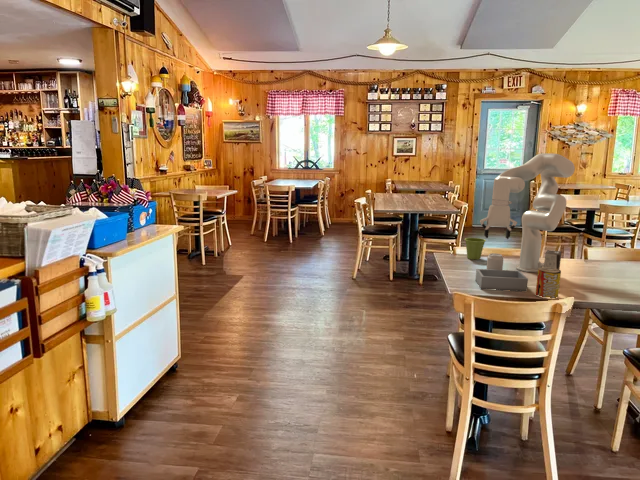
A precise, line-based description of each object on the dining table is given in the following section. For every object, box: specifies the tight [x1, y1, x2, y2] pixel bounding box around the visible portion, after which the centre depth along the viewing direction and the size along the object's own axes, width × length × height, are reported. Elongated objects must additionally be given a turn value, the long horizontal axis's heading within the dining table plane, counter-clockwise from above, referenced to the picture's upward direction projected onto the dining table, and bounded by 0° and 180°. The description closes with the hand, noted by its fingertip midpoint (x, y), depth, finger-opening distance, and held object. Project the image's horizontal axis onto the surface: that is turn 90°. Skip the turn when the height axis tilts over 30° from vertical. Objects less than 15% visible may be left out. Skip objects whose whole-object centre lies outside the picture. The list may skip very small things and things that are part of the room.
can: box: [486, 252, 504, 270], centre depth 232 cm, size 8×8×12 cm
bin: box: [475, 268, 529, 292], centre depth 219 cm, size 20×14×6 cm
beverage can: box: [535, 267, 562, 298], centre depth 205 cm, size 9×9×12 cm
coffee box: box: [543, 249, 562, 270], centre depth 221 cm, size 9×6×16 cm
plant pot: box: [463, 237, 487, 261], centre depth 272 cm, size 12×12×11 cm
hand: (496, 237), depth 229 cm, fingers open, 9 cm apart
